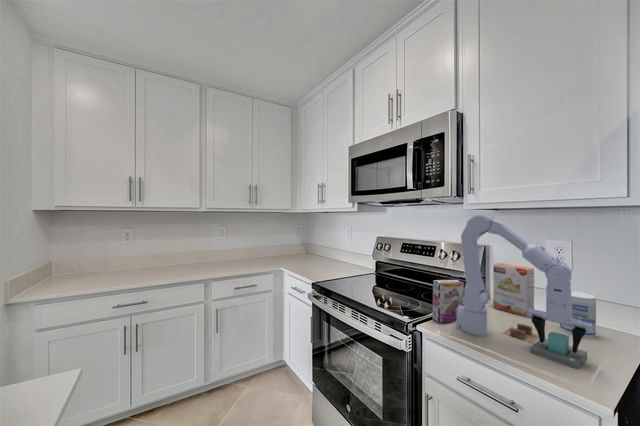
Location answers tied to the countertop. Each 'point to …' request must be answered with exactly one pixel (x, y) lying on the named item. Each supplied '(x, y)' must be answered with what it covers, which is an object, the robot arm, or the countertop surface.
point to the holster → (522, 333)
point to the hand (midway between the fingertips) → (558, 346)
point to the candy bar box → (447, 300)
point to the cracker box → (513, 289)
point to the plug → (558, 343)
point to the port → (570, 360)
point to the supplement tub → (582, 311)
